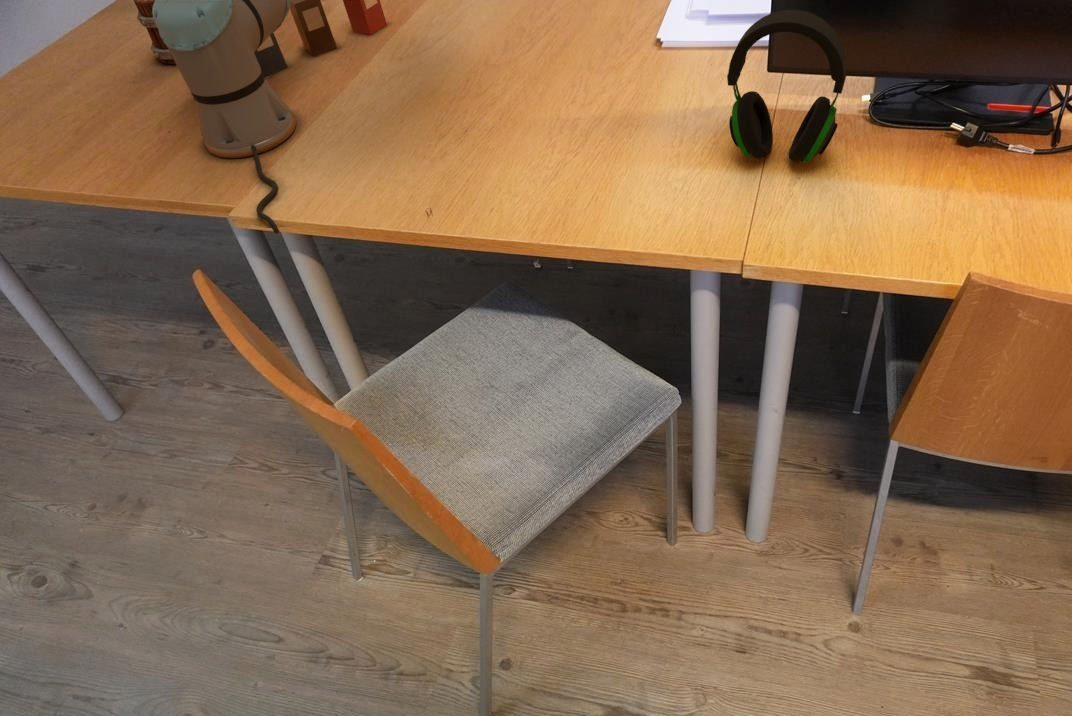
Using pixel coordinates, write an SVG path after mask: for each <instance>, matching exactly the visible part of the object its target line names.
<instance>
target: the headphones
mask: <svg viewBox="0 0 1072 716" xmlns="http://www.w3.org/2000/svg"><path fill="white" fill-rule="evenodd" d="M777 33H794V34H798V35H802V36H804V37H806V38H808V39H810V40H811V41H813V42H814V43H816V44H817V45H818V46H819V47H820V48H821V50H822V51H823V52H824V54H825V56H826V58H827V61H828V65H829V71H830V72H829V73H830V78H831V80H832V81H834V86H833V90H832V93H834V94H836V95H835V97H834V99H833V101H832V102H831V101H830V98H828V97H826V96H825V95H824V96H822V95H821V96H818V97H817V99H815V101H813V103H812V105H810V106H811V107H810V108H809V110H808V111H807V112H806V115H805V116H804V117H803V120H802V121H801V123H800V125H799V127H798V130H797V132H796V133H795V136H794V138H793V140H792V142H791V145H790V148H789V151H788V152H787V155H788V159H789V160H790V161H791V162H793V163H799V162H800V161H801V162H804V163H810V161H811V160H812V159H813V158H815V157H816V156H818V155H820V156H822V154H824V152H825V151H826V149H827V148H828V147H829V145H830V143H831V141H832V139H833V137H834V135H835V133H836V132H837V128H838V124H839V123H837V122H836V114H837V111H838V110H837V108H836V107H835V104H836V102H837V99H838V96H839V94H841V95H842V93H843V89H844V86H845V82H846V79H847V75H848V73H847V57H846V51H845V48H844V45H843V42H842V40H841V38H840V36H839V35H838V33H837V32H836V31H835V29H833V27H832V25H830V24H829V23H828V22H827V21H826V20H824V19H823V18H822V17H820V16H818V15H816V14H814V13H812V12H810V11H805V10H801V9H782V10H778V11H774V12H771V13H769V14H767V15H764V16H763V17H761V18H759V19H758V20H757V21H755V22H754V23H752V24H751V26H750V27H749V28H748V29H747V30H746V31H745V32H744V34H743V35H742V37H741V38H740V39H739V41H738V43H737V45H736V46H735V48H734V52H733V53H732V56H731V58H730V62H729V66H728V73H727V75H726V79H727V80H726V81H727V86H730V87H731V86H732V89H733V95H734V98H735V100H736V101H734V103H733V104H732V105H733V106H732V109H731V115H730V117H729V123H728V125H729V126H728V127H729V133H730V137H731V139H732V142H733V144H734V145H735V147H736V148H738V149H739V151H740V152H741V153H742V154H743V155H744V156H745V157H748V158H751V157H753V158H755V159H758V160H760V159H765V158H767V157H768V156H769V155H770V154H771V152H772V148H773V143H774V134H773V133H774V131H773V123H772V119H771V115H770V112H769V108H768V106H767V104H766V102H765V99H764V98H763V97H762V96H761V95H760V93H759V92H757V91H754V90H750V91H747V92H744V93H743V94H742V96H741V93H740V91H739V86H738V85H739V84H738V82H739V78H740V77H741V73H742V70H743V69H744V67H745V64H746V60H747V54H748V52H749V50H750V49H751V48H752V47H753V46H754V45H755V44H756V43H757V42H759V41H760V40H762V39H763V38H765V37H768V36H769V35H773V34H777Z"/></svg>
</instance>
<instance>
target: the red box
mask: <svg viewBox="0 0 1072 716" xmlns="http://www.w3.org/2000/svg"><path fill="white" fill-rule="evenodd" d="M342 3H343V6H344V8H345V12H346V14H347V17H348V20H349V25H350V26H351V29H352V32H353V33H359V34H364V35H369V36H372V35H373V34H375V33H377V32H378V31H379V30H381V29H383V28H385V27H386V26H387V25H388V23H387V19H386V17H385V16H386V15H385V13H384V10H383V7H382V3H381V0H342Z"/></svg>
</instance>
